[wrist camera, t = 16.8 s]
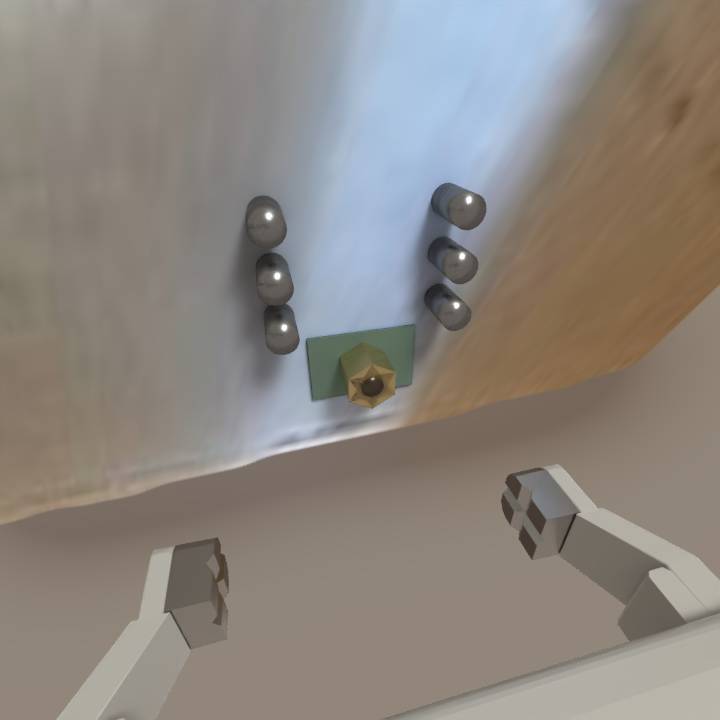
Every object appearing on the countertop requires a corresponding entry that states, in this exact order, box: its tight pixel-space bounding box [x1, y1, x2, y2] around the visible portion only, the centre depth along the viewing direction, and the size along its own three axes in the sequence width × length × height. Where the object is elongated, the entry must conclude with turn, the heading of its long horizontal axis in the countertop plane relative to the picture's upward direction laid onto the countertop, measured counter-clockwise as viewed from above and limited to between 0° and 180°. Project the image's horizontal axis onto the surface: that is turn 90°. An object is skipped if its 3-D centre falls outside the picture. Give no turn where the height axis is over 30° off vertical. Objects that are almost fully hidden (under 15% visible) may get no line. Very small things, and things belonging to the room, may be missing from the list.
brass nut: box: [340, 342, 396, 409], centre depth 45 cm, size 5×6×5 cm
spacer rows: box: [247, 183, 486, 355], centre depth 38 cm, size 20×13×5 cm, turn 92°
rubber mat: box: [307, 324, 415, 400], centre depth 47 cm, size 12×8×1 cm, turn 92°
